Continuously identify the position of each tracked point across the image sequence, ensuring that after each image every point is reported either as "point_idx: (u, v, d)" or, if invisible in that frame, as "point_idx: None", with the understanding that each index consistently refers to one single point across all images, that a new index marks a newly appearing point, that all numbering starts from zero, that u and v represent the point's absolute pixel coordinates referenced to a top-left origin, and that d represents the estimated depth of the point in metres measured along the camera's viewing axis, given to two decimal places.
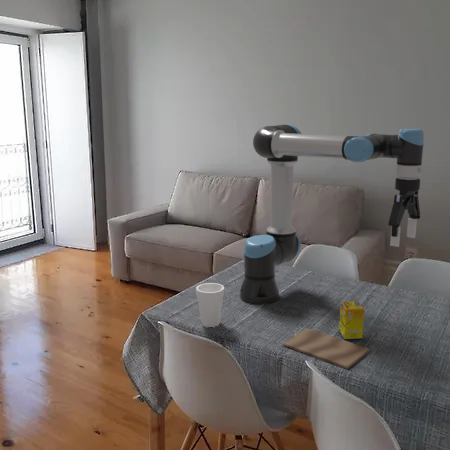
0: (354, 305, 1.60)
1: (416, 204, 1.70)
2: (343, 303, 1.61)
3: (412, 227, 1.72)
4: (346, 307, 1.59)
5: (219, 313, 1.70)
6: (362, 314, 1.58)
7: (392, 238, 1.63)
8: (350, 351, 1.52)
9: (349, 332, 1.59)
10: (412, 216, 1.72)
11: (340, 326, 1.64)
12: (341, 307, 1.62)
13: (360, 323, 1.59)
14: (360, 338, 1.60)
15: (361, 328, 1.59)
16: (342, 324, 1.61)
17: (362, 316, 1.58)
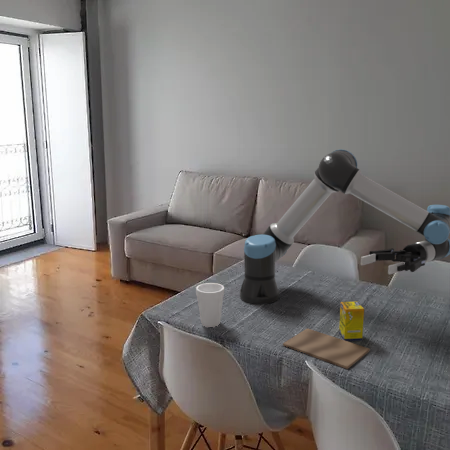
0: (354, 305, 1.60)
1: None
2: (343, 303, 1.61)
3: (369, 260, 1.69)
4: (346, 307, 1.59)
5: (219, 313, 1.70)
6: (362, 314, 1.58)
7: (395, 267, 1.59)
8: (350, 351, 1.52)
9: (349, 332, 1.59)
10: None
11: (340, 326, 1.64)
12: (341, 307, 1.62)
13: (360, 323, 1.59)
14: (360, 338, 1.60)
15: (361, 328, 1.59)
16: (342, 324, 1.61)
17: (362, 316, 1.58)
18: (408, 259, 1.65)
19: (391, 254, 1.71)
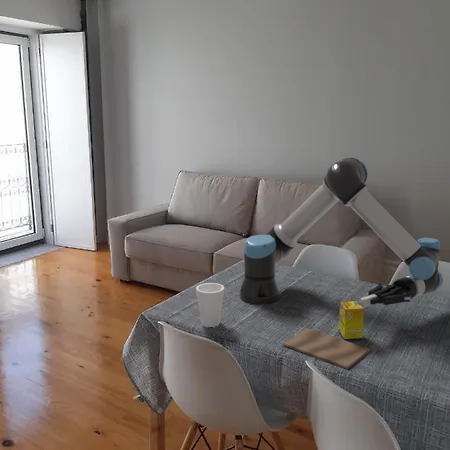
0: (353, 304, 1.60)
1: None
2: (342, 303, 1.61)
3: None
4: (346, 307, 1.59)
5: (219, 313, 1.70)
6: (362, 314, 1.58)
7: (368, 300, 1.62)
8: (350, 351, 1.52)
9: (349, 332, 1.59)
10: None
11: (340, 326, 1.64)
12: (341, 307, 1.62)
13: (359, 323, 1.59)
14: (360, 338, 1.60)
15: (361, 328, 1.59)
16: (342, 324, 1.61)
17: (362, 316, 1.58)
18: (388, 293, 1.66)
19: (386, 291, 1.69)
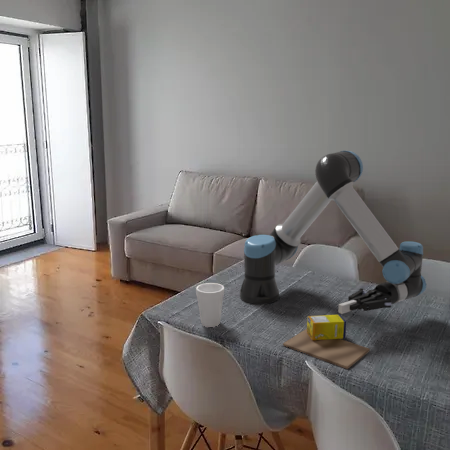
0: (309, 326, 1.60)
1: None
2: (308, 333, 1.62)
3: None
4: (310, 337, 1.59)
5: (219, 313, 1.70)
6: (319, 324, 1.57)
7: (347, 306, 1.58)
8: (350, 351, 1.52)
9: (336, 334, 1.59)
10: None
11: None
12: None
13: (328, 325, 1.58)
14: (344, 323, 1.58)
15: (333, 323, 1.58)
16: None
17: (321, 324, 1.57)
18: (368, 298, 1.62)
19: (366, 296, 1.64)
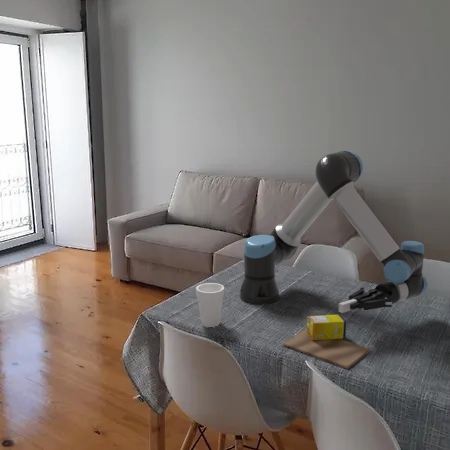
0: (309, 326, 1.60)
1: None
2: (308, 333, 1.62)
3: None
4: (310, 337, 1.59)
5: (219, 313, 1.70)
6: (319, 324, 1.57)
7: (347, 305, 1.58)
8: (350, 351, 1.52)
9: (336, 334, 1.59)
10: None
11: None
12: None
13: (328, 325, 1.58)
14: (344, 323, 1.58)
15: (333, 323, 1.58)
16: None
17: (321, 324, 1.57)
18: (369, 298, 1.62)
19: (367, 295, 1.64)
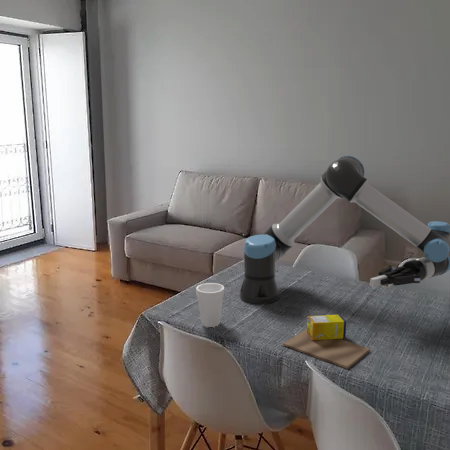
0: (309, 326, 1.60)
1: None
2: (308, 333, 1.62)
3: None
4: (310, 337, 1.59)
5: (219, 313, 1.70)
6: (319, 324, 1.57)
7: (378, 280, 1.64)
8: (350, 351, 1.52)
9: (336, 334, 1.59)
10: None
11: None
12: None
13: (328, 325, 1.58)
14: (344, 323, 1.58)
15: (333, 323, 1.58)
16: None
17: (321, 324, 1.57)
18: (398, 274, 1.68)
19: (396, 272, 1.71)
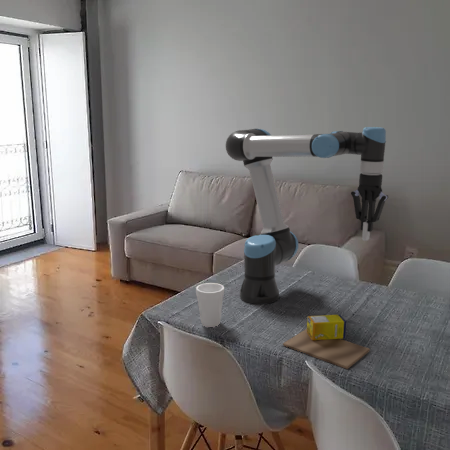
0: (309, 326, 1.60)
1: (360, 204, 1.79)
2: (308, 333, 1.62)
3: None
4: (310, 337, 1.59)
5: (219, 313, 1.70)
6: (319, 324, 1.57)
7: (367, 234, 1.78)
8: (350, 351, 1.52)
9: (336, 334, 1.59)
10: (365, 219, 1.78)
11: None
12: None
13: (328, 325, 1.58)
14: (344, 323, 1.58)
15: (333, 323, 1.58)
16: None
17: (321, 324, 1.57)
18: (370, 209, 1.74)
19: (365, 204, 1.76)
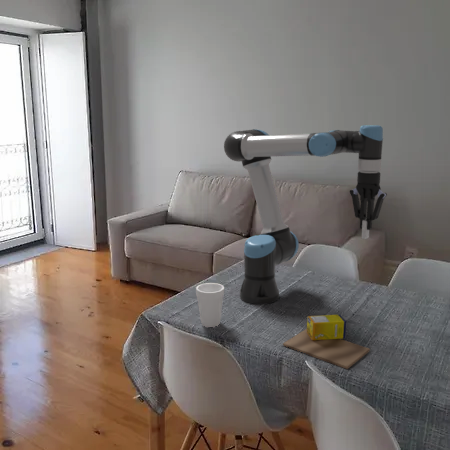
0: (309, 326, 1.60)
1: (358, 202, 1.79)
2: (308, 333, 1.62)
3: None
4: (310, 337, 1.59)
5: (219, 313, 1.70)
6: (319, 324, 1.57)
7: (366, 232, 1.77)
8: (350, 351, 1.52)
9: (336, 334, 1.59)
10: (364, 218, 1.77)
11: None
12: None
13: (328, 325, 1.58)
14: (344, 323, 1.58)
15: (333, 323, 1.58)
16: None
17: (321, 324, 1.57)
18: (369, 207, 1.74)
19: (364, 202, 1.76)
